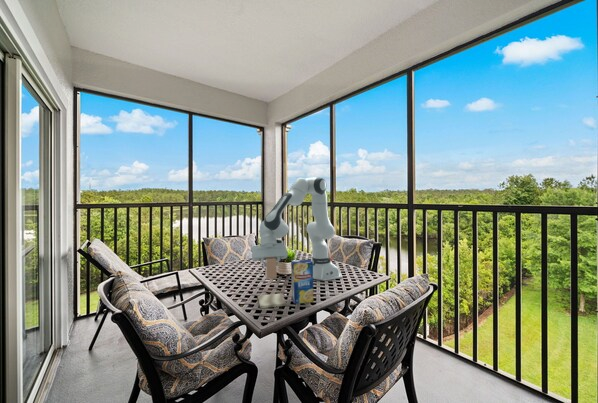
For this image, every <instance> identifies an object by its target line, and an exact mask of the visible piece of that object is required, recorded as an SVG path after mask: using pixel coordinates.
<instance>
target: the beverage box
mask: <svg viewBox="0 0 598 403" xmlns="http://www.w3.org/2000/svg"><path fill="white" fill-rule="evenodd" d="M290 261H291V263H290V264H291V265H290V266H291V267H290V268H291V271H290V272H291V273H290V274H291V277H290V278H291V300H292V302H293V304H295V305H296V304H297V305H298V304H305V303H312V302H314V278H313V262H312V259H298V260H290Z"/></svg>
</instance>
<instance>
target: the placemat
mask: <svg viewBox="0 0 598 403" xmlns="http://www.w3.org/2000/svg"><path fill="white" fill-rule="evenodd" d="M257 301H258V305H259V309H260V310H261V309H269V308H274V307H276V306H277V307H284V306H287V302H286V299H285V297H284V295H283V294H282V293H280V292H278V293H272V294H263V295H261V294H260V295H257ZM277 307H276V308H277Z"/></svg>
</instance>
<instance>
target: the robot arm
mask: <svg viewBox="0 0 598 403" xmlns="http://www.w3.org/2000/svg"><path fill="white" fill-rule="evenodd" d="M292 183H293V184H292V185H291V186H290V188H289V190H288V192H285V193H284V194H282V196H281V197H280V198H279V199H278V201H277V202H276V203H275V205H274V206H273V208H272V209H271V210H270V211H269V213H267V215H265V217H264V220H262V222H261V223H260V225H259V237H260V244H257V245H252V246H251V247H250V252H251V260H252V261H253V262H259V261H260V263H261V264H262V266H263V268H266V263H265V258H276V263H277V267H278V266H279V263H280V260H283V259H284V260H285V259H287V258H288V250H287V247H286V245H285V244H284V243H285V242H284V240H281V239H282V238H284V237H286V236H287V235H288V233H289V232H290V226H289V224H287V223H286V221H285V220H284V219H283V218H282V214H283V213H284V211H285V209H286V208H287V207H288V205H290V206H293V207H298V206H300V205H301V204H303V202H304V200H305V198H306V196H307V194H308V195H311V214H312V216H313V217H314V220H315V221H310V222H309V223H308V224H307V226H306V229H305V230H306V232H307V233H308V235H309V238H310V241H311V242H310V243H311V248H312V257H311V261H312V262H313V280H319V281H324V282H325V281H326V282H327V281H331V280H335V279H341V278H342V277H343V274H342V273H341V272H340V270H339V268H338V266H337V265H335V264H334V263H333V261H334V259H333V258H332V257H330V256H329V246H328V244H327V242H326V241H325V240H330V239H333V237H334V235H335V234H336V230H335V227H334V226H333V224H332V223H331V220H330V218H329V212H328V197H327V192H326V190H327V185H328V184H327V182H326V179H325V178H323V177H319V176H318V177H315V176H314V177H307V178H303V177H298V178H297V179H296V180H295V181H294V182H292Z"/></svg>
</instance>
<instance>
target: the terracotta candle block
mask: <svg viewBox="0 0 598 403" xmlns="http://www.w3.org/2000/svg"><path fill="white" fill-rule="evenodd" d="M264 262H265V263H266V267H265V278H266V280H269V279H277V276H278V275H277V274H278V273H277V270H278V269H277V267H278V266H277V263H276V262H277V259H276V258H265V260H264Z"/></svg>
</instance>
